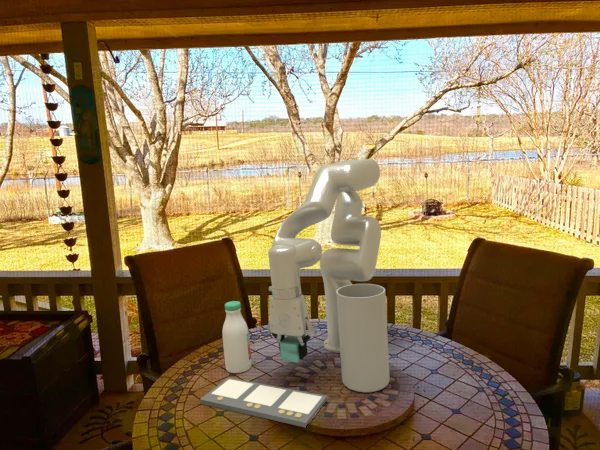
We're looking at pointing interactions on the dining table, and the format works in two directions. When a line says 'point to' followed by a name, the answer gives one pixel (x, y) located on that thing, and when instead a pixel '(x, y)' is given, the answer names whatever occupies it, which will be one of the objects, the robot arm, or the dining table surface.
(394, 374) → the dining table surface
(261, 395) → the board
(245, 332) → the milk bottle
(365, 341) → the cylinder vase
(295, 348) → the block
